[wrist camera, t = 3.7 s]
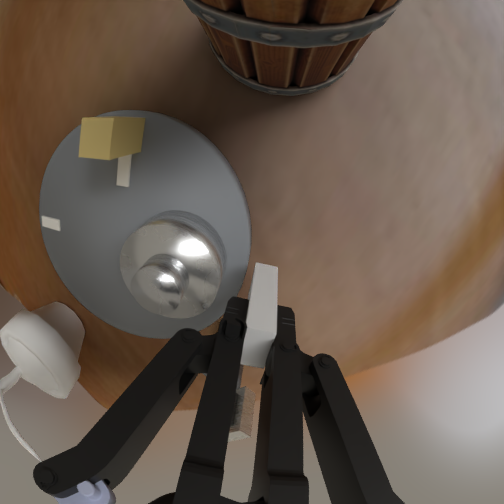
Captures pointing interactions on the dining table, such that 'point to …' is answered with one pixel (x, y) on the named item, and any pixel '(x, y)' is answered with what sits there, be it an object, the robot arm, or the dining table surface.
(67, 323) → the potted plant
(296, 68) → the mug
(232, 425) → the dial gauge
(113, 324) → the turntable
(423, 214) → the dining table surface
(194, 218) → the cover
